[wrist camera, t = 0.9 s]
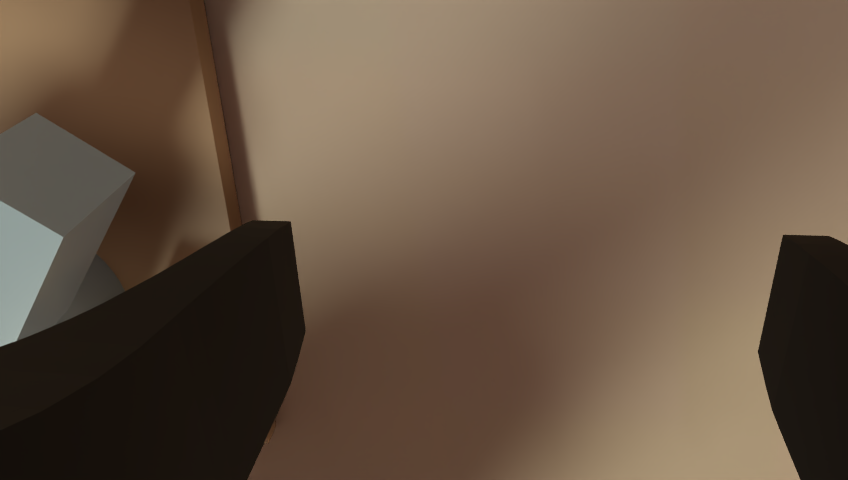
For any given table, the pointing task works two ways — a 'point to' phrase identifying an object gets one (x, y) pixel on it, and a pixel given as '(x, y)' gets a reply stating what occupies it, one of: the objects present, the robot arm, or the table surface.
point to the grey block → (53, 226)
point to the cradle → (130, 115)
